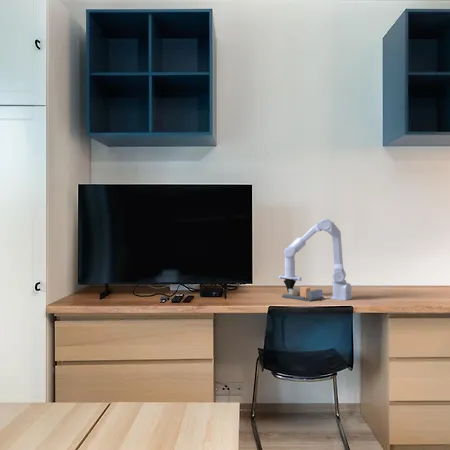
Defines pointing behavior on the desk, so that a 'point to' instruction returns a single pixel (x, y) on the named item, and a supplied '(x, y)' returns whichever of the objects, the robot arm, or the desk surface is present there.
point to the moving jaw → (294, 291)
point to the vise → (311, 296)
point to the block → (304, 291)
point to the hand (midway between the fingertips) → (289, 292)
